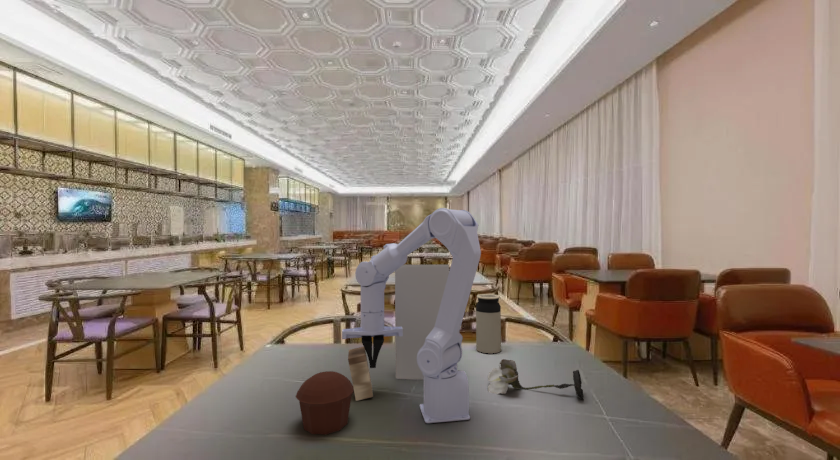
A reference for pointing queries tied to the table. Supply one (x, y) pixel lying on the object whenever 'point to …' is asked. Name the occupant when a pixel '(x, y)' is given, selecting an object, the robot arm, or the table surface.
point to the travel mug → (488, 324)
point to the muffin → (325, 402)
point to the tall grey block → (416, 312)
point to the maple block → (360, 373)
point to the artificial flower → (510, 377)
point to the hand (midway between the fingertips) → (372, 366)
